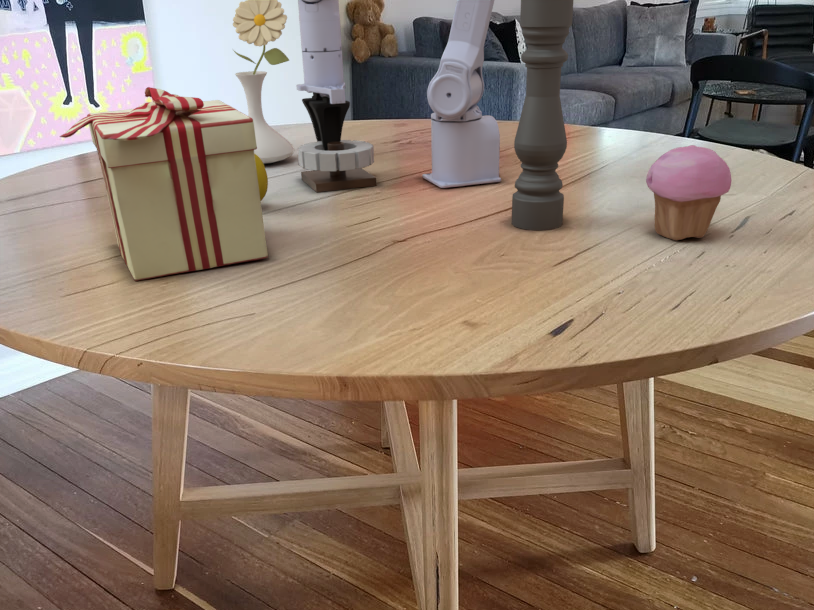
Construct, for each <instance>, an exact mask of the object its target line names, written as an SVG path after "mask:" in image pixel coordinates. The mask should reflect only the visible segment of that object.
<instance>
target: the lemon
mask: <svg viewBox="0 0 814 610" xmlns="http://www.w3.org/2000/svg"><path fill="white" fill-rule="evenodd" d="M254 156H255V162H256V170H257V178H258V186H259V193H260V201H261V202H262V201H263V200H264V199H265V197H266V194H267V192H268V187H269V178H268V173H267V170H266V167H265V163H264V164H263V162H262V160H261V159H260V158H259V157H258V156H257V155H256V154H254Z"/></svg>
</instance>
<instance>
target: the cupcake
mask: <svg viewBox="0 0 814 610" xmlns="http://www.w3.org/2000/svg"><path fill="white" fill-rule="evenodd" d="M645 184H646V186H647V188H648V189H649V190H650V191H651V192H652V194H653V199H654V218H653V221H654V231H655V232H656V233H657V235H659V236H661V237H664V238H667V239H670V240H673V241H680V240H684V239H687V238H696V239H701V238H703V237H704V236H705V235H706V234H707V232H708V230H709V228H710V226H711V223H712V221H713V218H714V215H715V213H716V211H717V208H718V206H719V204H720V202H721V199H722V196H723V195H726V194H727V193H729V192H730V189H731V187H732V171H731V168H730V167H729V165H728V164H727V162H726V161H725V160H724V159H723V158H722V157H721V156H720V155H719V154H718V153H717V151H715V150H713V149H711V148H708V147H703V146H697V145H694V144H690V145H688V146H679V147H674V148H672V149H669V150H668V151H666V152H664V153H663V154H661V155H660V156H659V157H658V158H657V159H656V160H655V161H654V162H653V163H652V164H651V166H650V167H649V169H648V170H647V173H646V178H645Z"/></svg>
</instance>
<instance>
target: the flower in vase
mask: <svg viewBox="0 0 814 610" xmlns="http://www.w3.org/2000/svg"><path fill="white" fill-rule="evenodd" d="M282 5H283V4H282V2H280V1H278V0H244V1H243V0H242V1H240V2H239V3H238V7H237V8H235V10H234V11H235V12H234V13H235V14H234V16H233V18H232V21H233V22H232V26H233V27H234V28H235V33H236V34H239V35H238V39H239V41H243V42H246V43H247V44H248V45H254V46H255V47H262V53H261V56H260V57H259V59H258V60H257V63H256V62H255V61H253V60H252V58H250V57H248V56H247V55H243V54H241V53H238V52H236V50H235V49H232V51H233V52H234V54H236V55H237V56H238V57H239V58H242V59H243V60H246V61H248V62H251V63H252V64H255V66H254V69H253V70H251V71H250V70H249V71H239V72H235V73H234V75H235V77H237V79H238V80H239V82H240V84H241V86H242V88H243V91H244V94H245V95H244V96H245V98H246V104H247V113H248V115H247V116H249V117H251V118H252V119H253V122H254V129H255V137H256V145H257V149H256V150H254V154H256V155H257V156H258V157H259V158H260V159H261V160H262V162H263V164H264V165H265V164H272V163H276V162H279V161H283V160H286V159H287V158H289V157H291V156H292V155H293V154H294V152H295V148H294V146H293V144H292V143H291V142H290V141H289V140H288V139H287V138H286V137H285V136H283V135H282V134H281V133H280V132H278V131H277V130H275V129H274V128H273V127H272V126H270V124H268V123H267V121H266V120H265V117H264V113H263V107H262V106H263V105H262V91H263V90H262V89H263V83H264V80H265V79H266V76H267V74H268V72H267V71H263V70H258V68H259V66H260V64H261V61H262V60H263V58H264V59H265V60H266V62H267V63H268V65H272V66H275V65H280V64H283V63H287V62H289V61H290V59H289V58H288V56H287V55H286V54H285V52H284V51H283V50H281V49H280V48H277V47H273V48H270V49H269V50H267V51H266V46H267V45H268V44H269V43H270V42H275V41H277V40H278V39H280V37H281V36H282V35H283V31H282V30H284V29H285V28H286V25H285V24H286V23H287V20H288V15H287V14H284V13H285V9H284V8H283V7H282Z"/></svg>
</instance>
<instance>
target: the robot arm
mask: <svg viewBox="0 0 814 610" xmlns="http://www.w3.org/2000/svg"><path fill="white" fill-rule="evenodd" d="M339 2H340V1H339V0H297V7H298V22H299V33H300V34H299V36H300V47H301V58H302V59H301V60H302V71H303V83H299V84H295V85H296V86H295V87H296V91H298V92H304V91H305V92H306V93H308V94H312V96H311V97H305V98H302V99H301V102H302V104H303V106H304V108H305V109H306V111H307V114H308V115H309V118H310V121H311V124H312V127H313V132H314V135H315V139H316V142H318V141H322V144H323V148H324V150H325V151H328V143H329V142H340V141H341V140H342V133H343V128H344V127H343V126H344V122H345V118H346V115H347V113H348V111H349V110H350V109H349V108H350V106H351V102H350V101H349V100H346V91H345V90H346V88H347V87H346V82H345V78H344V77H345V76H344V61H343V46H342V45H343V44H342V28H341V26H342V25H341V14H340V3H339ZM494 4H495V0H456V2H455V7H454V12H453V16H452V20H451V21H452V22H451V25H450V26H451V27H450V32H449V36H448V40H447V42H446V43H447V44H446V46H445V48H444V51H443V53H442V55H441V58H440V63H439V66H438V69H437V72H436V73H435V74H434V76H433V77H432V78H431V80H430V81H429V83H428V86H427V90H426V97H427V102H428V103H427V104H428V105H429V107H430V109H431V110H432V111H433V112H432V113H430V137H431V139H430V140H431V141H430V144H431V147H430V148H431V149H430V150H431V173H423V174H422V175H421V177H422V179H424V180H426V181H428V182H429V183H431V184H433V185H435V186H437V187H439V188H441V189H447V188H457V187H465V186H474V185H480V184H481V185H483V184H484V185H485V184H493V183H500V182H502V177H500V159H501V158H500V154H501V152H500V151H501V146H500V145H501V133H500V128H499V124H498V121H497V120H496V118H495V117H494V116H492V115H489V114H488V115H487V114H485V115H483V112H482V111H481V109H480V107H479V106H478V103H479V102H480V101H481V99H482V97H483V95H484V91H485V82H484V78H483V65H484V61H485V53H484V52H485V50H484V49H485V43H486V39H487V35H488V30H489V25H490V22H491V17H492V12H493V9H494Z"/></svg>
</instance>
